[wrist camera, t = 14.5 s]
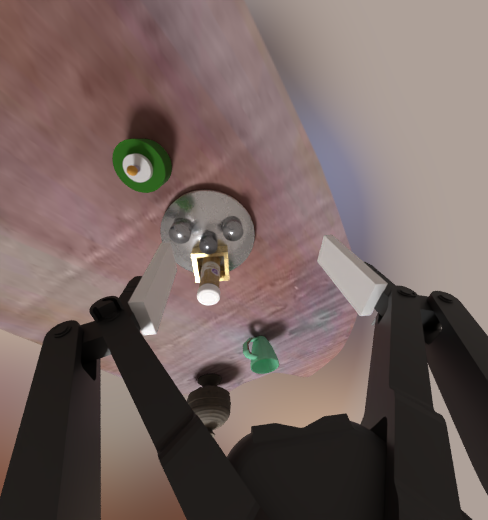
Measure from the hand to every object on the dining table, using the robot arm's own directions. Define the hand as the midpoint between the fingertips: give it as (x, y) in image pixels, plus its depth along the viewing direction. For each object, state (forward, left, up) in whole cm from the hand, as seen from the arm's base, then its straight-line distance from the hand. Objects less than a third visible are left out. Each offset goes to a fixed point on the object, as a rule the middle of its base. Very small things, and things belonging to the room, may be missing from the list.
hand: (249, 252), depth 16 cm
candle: (-16, +4, -29) cm, 33 cm away
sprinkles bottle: (-6, -18, -27) cm, 34 cm away
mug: (+7, -55, -29) cm, 63 cm away
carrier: (-6, -12, -29) cm, 32 cm away
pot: (-13, -83, -29) cm, 89 cm away
